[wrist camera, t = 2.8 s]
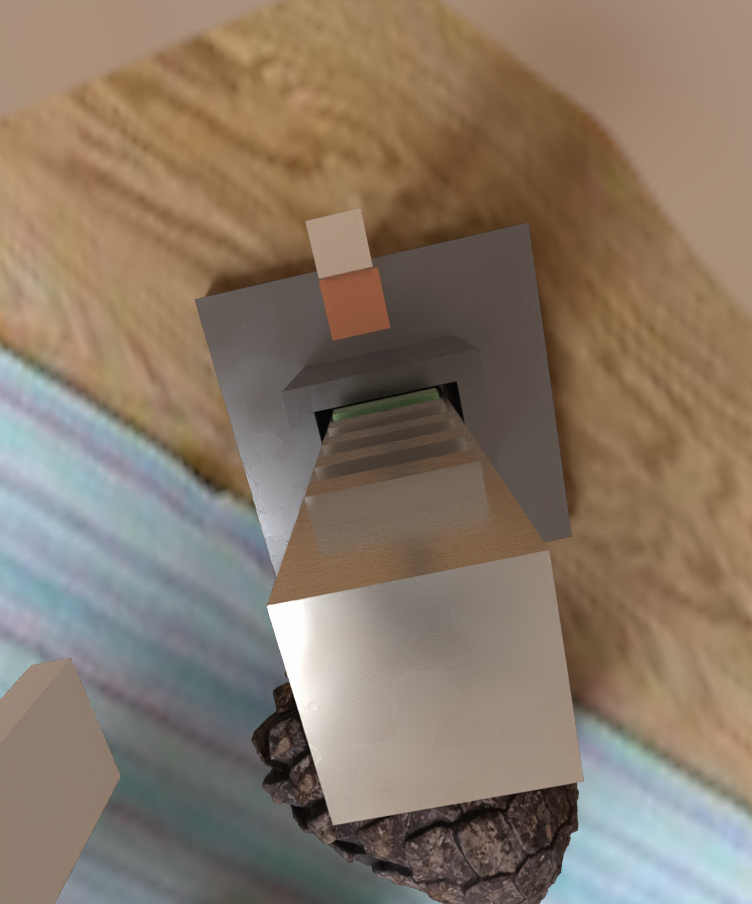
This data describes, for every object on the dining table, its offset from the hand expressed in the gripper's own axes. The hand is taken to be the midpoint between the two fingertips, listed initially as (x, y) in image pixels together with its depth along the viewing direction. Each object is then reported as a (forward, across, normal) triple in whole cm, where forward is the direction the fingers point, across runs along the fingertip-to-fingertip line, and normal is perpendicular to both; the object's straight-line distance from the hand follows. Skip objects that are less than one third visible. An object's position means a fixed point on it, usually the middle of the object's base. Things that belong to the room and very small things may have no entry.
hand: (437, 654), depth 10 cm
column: (+19, 0, 0) cm, 19 cm away
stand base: (+21, 0, 0) cm, 21 cm away
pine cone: (+21, -4, -20) cm, 29 cm away
